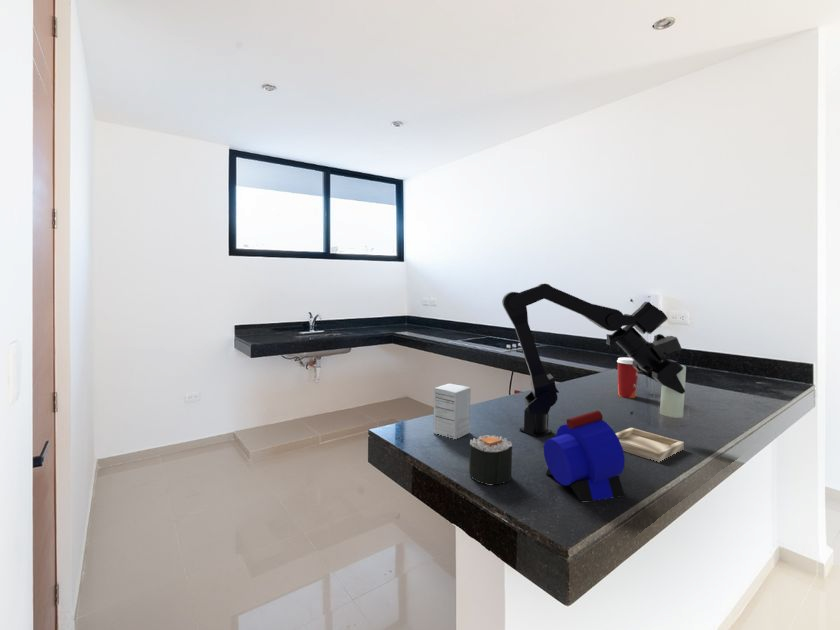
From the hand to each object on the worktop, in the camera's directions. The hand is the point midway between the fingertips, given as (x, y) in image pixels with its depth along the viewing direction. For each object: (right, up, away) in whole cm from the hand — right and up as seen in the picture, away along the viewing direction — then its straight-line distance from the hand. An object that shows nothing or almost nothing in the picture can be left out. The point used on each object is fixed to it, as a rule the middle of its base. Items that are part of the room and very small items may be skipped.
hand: (678, 390), depth 108 cm
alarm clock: (-35, -15, -25) cm, 46 cm away
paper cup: (+9, -11, +46) cm, 48 cm away
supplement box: (-59, -13, +4) cm, 60 cm away
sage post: (-1, -7, +1) cm, 7 cm away
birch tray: (-11, -14, -4) cm, 18 cm away
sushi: (-53, -14, -21) cm, 59 cm away
